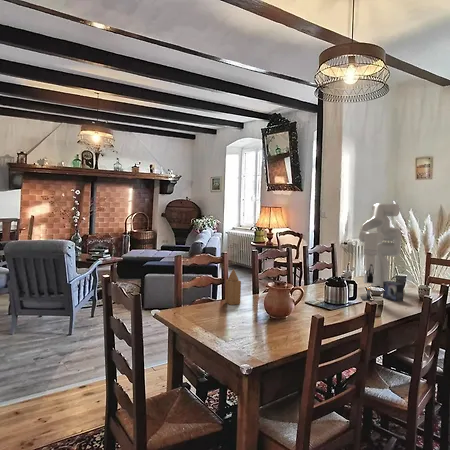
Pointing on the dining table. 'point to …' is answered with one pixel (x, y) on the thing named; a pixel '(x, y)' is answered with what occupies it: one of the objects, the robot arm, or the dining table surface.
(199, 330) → the dining table surface
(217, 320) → the dining table surface
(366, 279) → the link
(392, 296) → the small box
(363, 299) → the keeper
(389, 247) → the robot arm
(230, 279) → the decorative item
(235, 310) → the dining table surface
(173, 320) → the dining table surface
